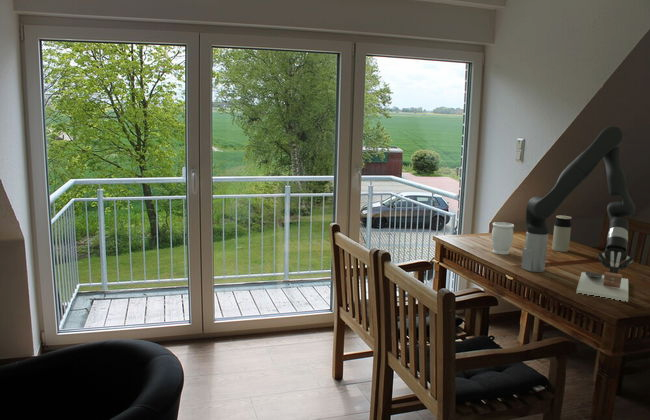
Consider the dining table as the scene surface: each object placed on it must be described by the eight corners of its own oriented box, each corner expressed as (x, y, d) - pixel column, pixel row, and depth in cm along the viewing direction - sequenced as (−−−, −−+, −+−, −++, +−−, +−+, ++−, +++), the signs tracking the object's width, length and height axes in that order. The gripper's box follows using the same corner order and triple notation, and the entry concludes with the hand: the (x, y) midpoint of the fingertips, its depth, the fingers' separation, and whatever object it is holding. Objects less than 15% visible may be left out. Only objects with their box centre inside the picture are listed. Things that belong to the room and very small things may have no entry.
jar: (504, 256, 267) (507, 227, 264) (485, 252, 275) (488, 223, 272) (515, 253, 274) (518, 224, 271) (497, 249, 282) (499, 221, 279)
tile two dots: (603, 282, 220) (604, 271, 212) (620, 285, 217) (622, 274, 210) (603, 286, 220) (604, 275, 212) (619, 288, 217) (621, 277, 209)
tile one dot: (586, 272, 234) (586, 271, 225) (602, 274, 231) (602, 273, 223) (586, 275, 234) (585, 275, 225) (601, 278, 231) (601, 277, 222)
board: (581, 275, 239) (581, 271, 239) (627, 282, 231) (628, 279, 230) (576, 293, 214) (576, 289, 214) (627, 302, 206) (628, 298, 205)
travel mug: (569, 252, 278) (573, 218, 275) (552, 251, 280) (556, 217, 277) (567, 249, 286) (571, 216, 283) (551, 247, 288) (554, 214, 285)
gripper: (599, 233, 222) (595, 269, 214) (636, 237, 216) (633, 274, 208) (598, 243, 228) (594, 278, 219) (634, 247, 222) (631, 284, 213)
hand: (613, 276), depth 213 cm, fingers closed
